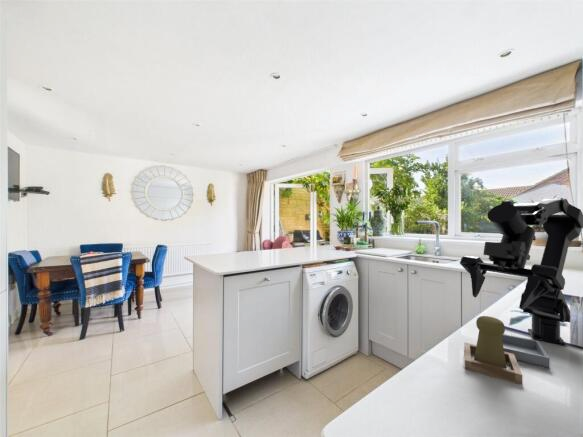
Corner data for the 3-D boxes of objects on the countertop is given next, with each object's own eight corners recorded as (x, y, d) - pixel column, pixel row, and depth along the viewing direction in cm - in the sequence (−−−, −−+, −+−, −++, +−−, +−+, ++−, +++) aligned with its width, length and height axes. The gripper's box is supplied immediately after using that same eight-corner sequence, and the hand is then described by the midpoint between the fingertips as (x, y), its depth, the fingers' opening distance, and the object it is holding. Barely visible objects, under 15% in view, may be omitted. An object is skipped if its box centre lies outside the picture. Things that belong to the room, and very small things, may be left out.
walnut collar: (464, 350, 64) (464, 342, 64) (513, 362, 59) (513, 353, 59) (465, 368, 56) (465, 360, 56) (522, 384, 51) (522, 375, 51)
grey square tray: (490, 340, 70) (490, 331, 70) (538, 350, 64) (538, 340, 64) (494, 356, 62) (494, 345, 62) (549, 369, 56) (549, 358, 56)
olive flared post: (513, 375, 54) (514, 324, 54) (482, 371, 55) (482, 322, 55) (497, 359, 60) (497, 314, 60) (468, 357, 61) (469, 312, 61)
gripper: (460, 226, 68) (439, 276, 64) (556, 229, 51) (536, 298, 47) (478, 248, 72) (460, 297, 68) (572, 257, 56) (556, 322, 51)
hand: (496, 302), depth 59 cm, fingers open, 9 cm apart
